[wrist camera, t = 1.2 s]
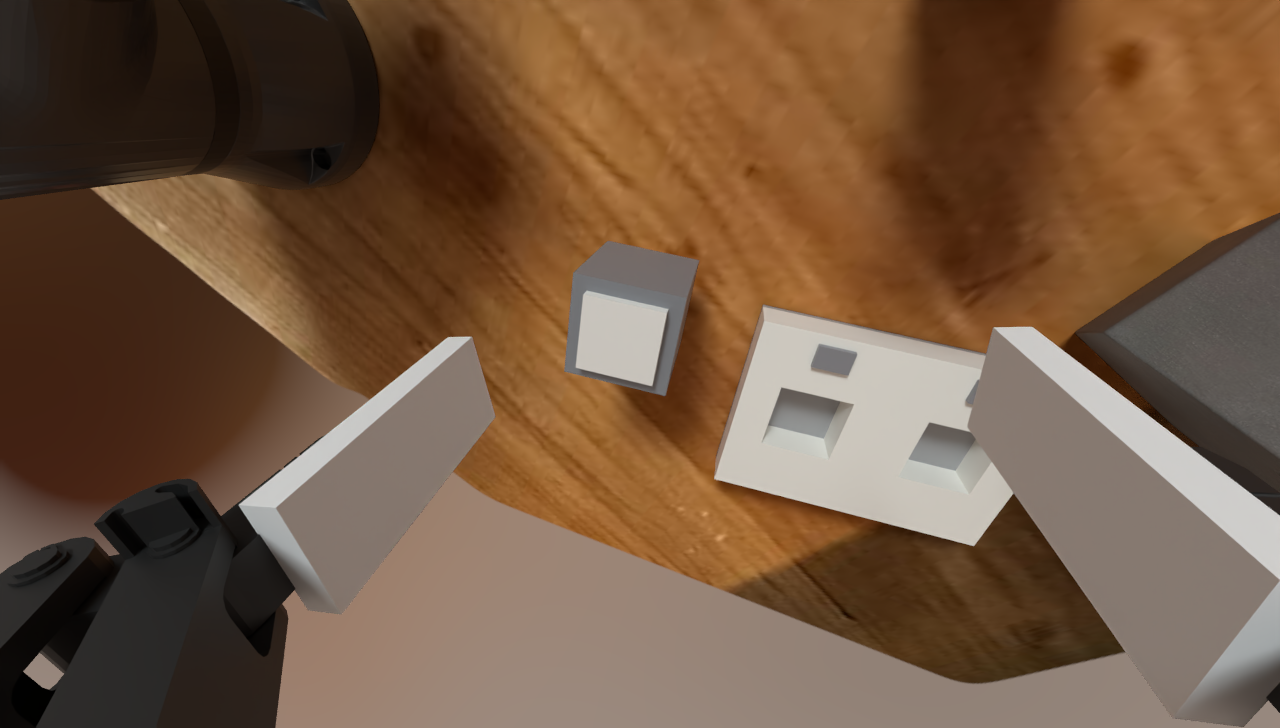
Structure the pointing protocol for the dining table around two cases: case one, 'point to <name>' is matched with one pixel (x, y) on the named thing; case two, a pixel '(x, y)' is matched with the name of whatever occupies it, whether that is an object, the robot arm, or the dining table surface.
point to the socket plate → (862, 426)
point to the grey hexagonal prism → (1208, 346)
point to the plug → (629, 316)
